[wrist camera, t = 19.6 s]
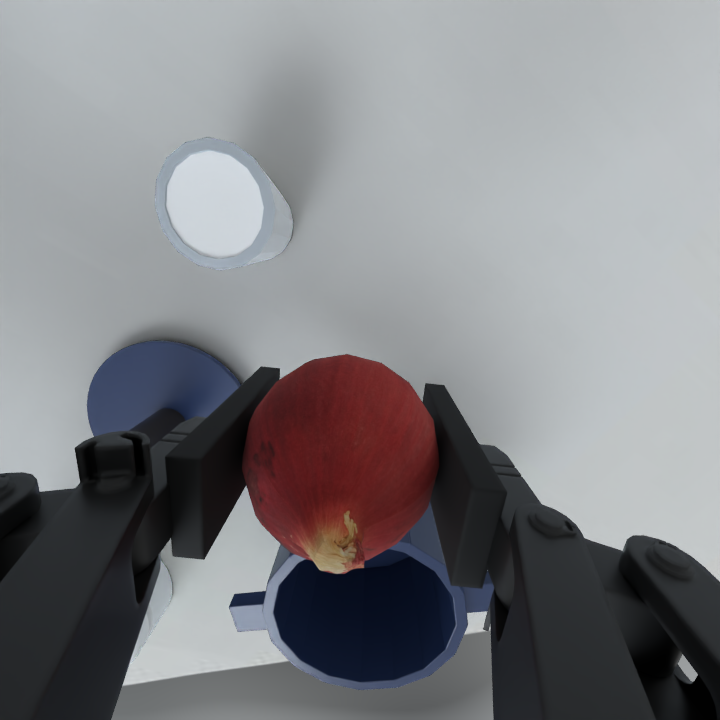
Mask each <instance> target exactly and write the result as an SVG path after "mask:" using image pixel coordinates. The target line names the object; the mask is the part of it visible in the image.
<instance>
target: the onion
mask: <svg viewBox="0 0 720 720" xmlns="http://www.w3.org/2000/svg"><path fill="white" fill-rule="evenodd" d="M438 469H439V451H438V444H437V439H436V433H435V427H434V421H433V418H432V417H431V415H430V414H429V412H428V411H427V409H426V407H425V406H424V404H423V403H422V401H421V400H420V398H419V396H418V395H417V393H416V392H415V390H414V389H413V387H412V386H411V385H410V383H409V382H407V381H406V380H405V379H403V378H402V377H400V376H399V375H398V374H396V373H395V372H393V371H392V370H391V369H389V368H388V367H386V366H385V365H384V364H382V363H380V362H376V361H372V360H368V359H364V358H360V357H356V356H352V355H348V354H346V355H339V356H333V357H326V358H320V359H314V360H311V361H309V362H307V363H305V364H303V365H302V366H300V367H299V368H297V369H296V370H294V371H293V372H291V373H289V374H288V375H286V376H284V377H283V378H282V379H280V380H279V381H277V382H276V383H275V384H274V385H273V387H272V388H271V389H270V391H269V392H268V393H267V395H266V396H265V397H264V398H263V400H262V401H261V402H260V404H259V405H258V406H257V408H256V409H255V411H254V413H253V415H252V417H251V420H250V422H249V426H248V431H247V436H246V442H245V447H244V452H243V460H242V472H243V475H244V479H245V482H246V485H247V489H248V492H249V495H250V498H251V502H252V505H253V508H254V512H255V515H256V517H257V518H258V520H259V521H260V523H261V524H262V525H263V526H264V527H265V528H266V529H267V530H268V531H269V532H270V533H271V534H272V535H273V536H274V537H275V539H276V540H277V541H278V542H279V543H280V544H281V545H282V546H283V547H284V548H286V549H287V550H288V551H289V552H291V553H293V554H295V555H298V556H300V557H303V558H305V559H308V560H311V561H313V562H314V563H315V564H316V566H317V567H318V569H319V570H321V571H325V572H328V573H335V574H345V573H347V572H349V571H350V570H352V569H356V568H364V561H366V560H369V559H371V558H373V557H374V556H376V555H378V554H380V553H382V552H383V551H385V550H387V549H389V548H390V547H392V546H394V545H396V544H397V543H398V542H399V541H400V540H401V539H402V538H403V537H404V536H405V535H406V533H407V532H408V531H409V530H410V529H411V528H412V527H413V526H414V525H415V524H416V523H417V522H418V521H419V519H420V518H421V517H422V516H423V514H424V513H425V511H426V510H427V508H428V505H429V502H430V498H431V494H432V491H433V487H434V483H435V480H436V476H437V473H438Z"/></svg>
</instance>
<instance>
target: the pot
mask: <svg viewBox="0 0 720 720" xmlns="http://www.w3.org/2000/svg"><path fill="white" fill-rule="evenodd" d="M493 590H494V586H493V583H492V580H491V578H490V575H489V572H488V571H487V573H486V577H485V581H484V585H483V588H482V589H479V588H469V587H460V586H451V585H450V581H449V577H448V573H447V568H446V564H445V560H444V556H443V552H442V548H441V544H440V540H439V536H438V532H437V528H436V523H435V519H434V515H433V511H432V507H431V503H430V502H429V505H428V508H427V510H426V511H425V513H424V514H423V516H422V517H421V518H420V519H419V521H418V522H417V523H416V524H415V525H414V526H413V527H412V528H411V529H410V530H409V531H408V532H407V533H406V535H405V536H404V537H403V538H402V539H401V540H400V541H399V542H398V543H397V544H396V545H394V546H392V547H390V548H389V549H387V550H385V551H383V552H382V553H380V554H378V555H376V556H374V557H373V558H371V559H369V560H366V561H364V568H356V569H352V570H350V571H349V572H347V573H345V574H335V573H328V572H325V571H321V570H319V569H318V567H317V566H316V564H315V563H314V562H313V561H311V560H308V559H305V558H303V557H300V556H298V555H295V554H293V553H291V552H289V551H288V550H287V549H286V548H284V547H283V546H282V545H281V544H280V547H279V550H278V553H277V556H276V559H275V562H274V565H273V568H272V571H271V574H270V577H269V580H268V583H267V588H266V591H262V592H252V593H241V594H234V596H233V599H232V601H231V603H230V606H229V609H230V611H231V614H232V617H233V620H234V623H235V626H236V629H237V631H238V632H241V631H253V630H266V629H268V632H269V635H270V639H271V641H272V642H273V644H274V645H275V646H276V647H277V648H278V649H279V650H280V651H281V652H282V654H283V655H284V656H285V657H286V658H287V659H288V660H289V661H290V662H291V663H292V665H294V666H295V667H297V668H299V669H301V670H302V671H304V672H306V673H308V674H310V675H312V676H313V677H315V678H317V679H319V680H321V681H323V682H325V683H329V684H334V685H339V686H343V687H348V688H353V689H358V690H365V689H381V688H382V689H383V688H396V687H400V686H403V685H406V684H408V683H411V682H414V681H417V680H419V679H422V678H425V677H427V676H430V675H431V674H433V673H434V672H435V671H436V670H437V669H439V668H440V667H441V666H442V665H443V664H444V663H445V662H447V661H448V660H449V659H450V658H451V657H452V656H454V655H455V653H456V651H457V649H458V647H459V644H460V642H461V640H462V638H463V635H464V633H465V631H466V628H467V626H468V620H467V613H471V612H483V611H488V608H489V604H490V601H491V597H492V593H493Z"/></svg>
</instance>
